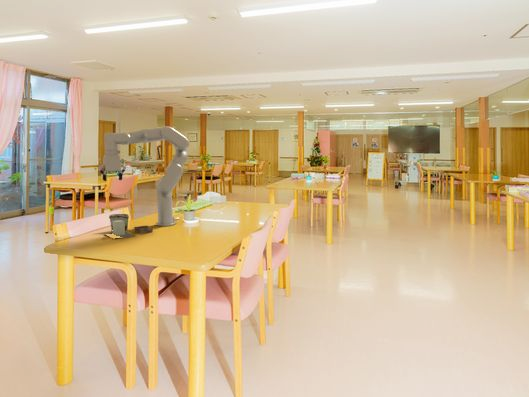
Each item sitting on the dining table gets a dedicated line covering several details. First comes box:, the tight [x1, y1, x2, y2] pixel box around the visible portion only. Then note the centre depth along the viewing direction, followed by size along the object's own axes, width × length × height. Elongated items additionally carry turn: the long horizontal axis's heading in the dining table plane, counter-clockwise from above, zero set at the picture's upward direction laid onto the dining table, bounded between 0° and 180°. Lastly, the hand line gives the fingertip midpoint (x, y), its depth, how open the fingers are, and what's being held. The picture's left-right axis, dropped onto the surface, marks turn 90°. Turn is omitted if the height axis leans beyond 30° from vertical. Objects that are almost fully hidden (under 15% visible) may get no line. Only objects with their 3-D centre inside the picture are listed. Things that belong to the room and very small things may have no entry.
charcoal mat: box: [120, 231, 136, 238], centre depth 227 cm, size 12×16×1 cm
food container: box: [108, 213, 130, 232], centre depth 241 cm, size 12×6×10 cm, turn 84°
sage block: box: [112, 220, 125, 236], centre depth 226 cm, size 5×5×8 cm
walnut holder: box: [133, 225, 153, 235], centre depth 236 cm, size 8×8×3 cm
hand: (112, 180), depth 245 cm, fingers open, 9 cm apart
